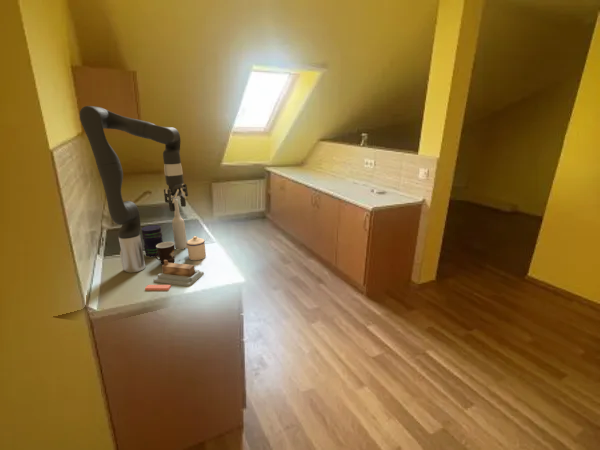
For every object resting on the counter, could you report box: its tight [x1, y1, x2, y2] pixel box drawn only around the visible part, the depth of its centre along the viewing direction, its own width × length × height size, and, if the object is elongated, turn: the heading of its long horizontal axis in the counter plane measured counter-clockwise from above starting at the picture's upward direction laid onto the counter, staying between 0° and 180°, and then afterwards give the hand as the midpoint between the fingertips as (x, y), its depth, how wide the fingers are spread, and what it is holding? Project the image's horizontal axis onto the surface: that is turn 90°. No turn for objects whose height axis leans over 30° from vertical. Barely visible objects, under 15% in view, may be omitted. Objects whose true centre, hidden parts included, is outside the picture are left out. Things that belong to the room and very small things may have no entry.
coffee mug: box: [154, 241, 176, 266], centre depth 164 cm, size 12×9×10 cm
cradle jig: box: [153, 269, 205, 287], centre depth 150 cm, size 18×12×3 cm, turn 76°
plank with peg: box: [161, 260, 196, 277], centre depth 149 cm, size 14×4×7 cm, turn 76°
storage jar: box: [140, 224, 164, 258], centre depth 176 cm, size 10×10×15 cm
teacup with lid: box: [186, 235, 207, 261], centre depth 172 cm, size 12×9×12 cm
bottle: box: [171, 198, 188, 250], centre depth 183 cm, size 7×7×28 cm
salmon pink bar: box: [144, 284, 172, 291], centre depth 141 cm, size 10×3×2 cm, turn 89°
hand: (178, 208), depth 151 cm, fingers open, 8 cm apart
